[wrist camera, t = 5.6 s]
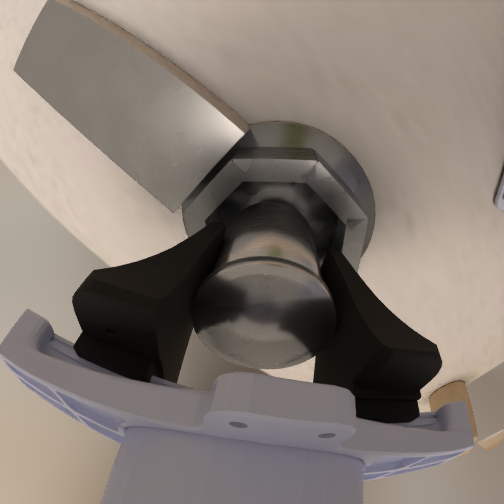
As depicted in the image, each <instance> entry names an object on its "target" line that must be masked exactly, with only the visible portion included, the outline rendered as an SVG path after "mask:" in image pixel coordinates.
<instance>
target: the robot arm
mask: <svg viewBox="0 0 504 504" xmlns="http://www.w3.org/2000/svg"><path fill="white" fill-rule="evenodd" d="M503 193H504V173H503V177H502V180H501V183H500V186H499V190H498V193H497V196H496V198H495V205H496V206H497V207H498V208H499V209H501V210H503V211H504V195H503ZM502 195H503V196H502ZM225 229H226V224H225V223H220V222H216V221H213V222H211V223H209V224H208V225H207V226H205V227H204V228H202V229H201V230H199V231H198V232H197V233H195V234H194V235H192V236H190V237H189V238H187V239H186V240H184V241H183V242H181V243H179V244H177V245H176V246H174V247H172V248H170V249H168V250H166V251H163V252H161V253H159V254H157V255H154V256H151V257H148V258H146V259H143V260H140V261H137V262H133V263H130V264H125V265H121V266H117V267H111V268H104V269H98V270H93V271H92V273H91V274H90V275H89V276H88V277H87V278H86V279H85V281H84V282H83V283H82V284H81V286H80V287H79V288H78V289H77V291H76V292H75V294H74V295H73V299H72V303H73V307H74V311H75V313H76V316H77V319H78V321H79V324H80V326H81V329H82V331H83V332H82V333H81V335H80V336H79V338H78V340H77V341H76V343H75V344H74V343H72V342H70V341H68V340H66V339H64V338H62V337H60V336H58V335H56V334H55V333H54V331H53V328H52V326H51V325H50V323H49V322H48V321H47V320H46V319H45V318H43V317H42V316H40V315H38V314H36V313H34V312H33V311H31V310H29V309H27V310H26V311H25V312H24V313H23V315H22V316H21V317H20V318H19V320H18V321H17V322H16V324H15V325H14V327H13V328H12V329H11V331H10V332H9V333H8V335H7V336H6V338H5V339H4V340H3V342H2V343H1V345H0V358H1V359H2V360H3V361H4V363H5V364H6V365H7V366H8V368H9V369H10V370H11V371H12V372H13V374H14V375H15V376H16V377H17V378H18V379H19V380H20V382H21V383H22V384H23V385H25V386H26V387H27V388H29V389H30V390H32V391H33V392H34V393H36V394H37V395H39V396H40V397H42V398H43V399H44V400H46V401H47V402H49V403H50V404H52V405H53V406H55V407H56V408H58V409H59V410H61V411H63V412H64V413H66V414H67V415H69V416H71V417H72V418H74V419H75V420H77V421H79V422H81V423H82V424H84V425H86V426H88V427H89V428H91V429H93V430H95V431H97V432H98V433H100V434H102V435H104V436H106V437H108V438H110V439H112V440H114V441H116V442H118V443H120V444H121V445H120V448H119V451H118V454H117V456H116V459H115V462H114V465H113V468H112V470H111V473H110V476H109V479H108V482H107V485H106V488H105V491H104V494H103V497H102V500H101V504H363V481H366V480H373V479H379V478H385V477H390V476H395V475H400V474H405V473H409V472H414V471H418V470H422V469H426V468H430V467H434V466H438V465H440V464H442V463H444V462H446V461H448V460H450V459H452V458H454V457H456V456H458V455H460V454H462V453H464V452H466V451H468V450H469V449H471V448H473V447H474V446H475V445H474V438H473V433H472V428H471V423H470V418H469V414H468V410H467V406H466V402H465V401H456V402H449V403H447V404H445V405H443V406H441V407H440V408H439V409H438V410H437V411H435V412H424V413H419V407H418V401H417V400H419V399H420V398H421V393H420V389H422V388H423V387H424V386H425V385H426V384H427V383H428V382H430V381H431V380H432V379H433V378H434V377H435V376H436V375H437V374H438V372H439V370H440V369H441V367H442V360H441V357H440V353H439V350H438V347H437V345H436V344H434V343H433V342H431V341H429V340H428V339H426V338H425V337H423V336H421V335H420V334H418V333H417V332H416V331H414V330H413V329H412V328H410V327H409V326H408V325H406V324H405V323H404V322H403V321H401V320H400V319H399V318H398V317H397V316H396V315H394V314H393V313H392V312H391V311H390V310H389V309H388V308H387V307H386V306H385V305H384V304H383V303H382V302H381V301H380V300H379V299H378V298H377V297H376V296H375V294H374V293H373V292H372V291H371V290H370V288H369V287H368V286H367V285H366V284H365V282H364V281H363V280H362V279H361V277H360V276H359V275H358V273H357V272H356V271H355V269H354V268H353V267H352V265H351V264H350V262H349V261H348V260H347V258H346V257H345V256H344V255H343V253H342V252H341V251H337V250H333V249H329V248H328V251H327V253H326V256H325V258H324V261H323V263H322V265H321V268H320V271H321V276H322V280H323V281H324V282H325V284H326V285H327V287H328V288H329V290H330V292H331V294H332V297H333V301H334V305H335V310H336V318H337V322H336V329H335V332H334V335H333V337H332V339H331V340H330V342H329V343H328V345H327V346H326V347H325V348H324V349H323V350H322V351H321V352H319V353H318V354H317V355H316V358H315V370H314V379H313V383H311V382H304V381H297V380H291V379H284V378H279V377H273V376H267V375H262V374H257V373H248V372H232V373H228V374H223V375H220V376H219V377H218V378H217V379H216V380H215V381H214V382H213V384H212V388H211V392H208V391H202V390H198V389H194V388H190V387H187V386H183V385H180V384H177V380H178V377H179V373H180V369H181V366H182V362H183V359H184V355H185V352H186V349H187V345H188V342H189V339H190V336H191V333H192V330H193V324H192V318H191V311H192V305H193V303H194V300H195V297H196V295H197V292H198V290H199V287H200V286H201V284H202V282H203V281H204V280H205V278H206V277H207V276H208V275H209V274H210V273H212V272H213V269H214V266H215V264H216V261H217V258H218V256H219V253H220V250H221V248H222V245H223V242H224V236H225Z"/></svg>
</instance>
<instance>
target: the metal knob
mask: <svg viewBox="0 0 504 504" xmlns="http://www.w3.org/2000/svg"><path fill="white" fill-rule="evenodd" d="M191 318H192V324H193V327H194V330H195V332H196V334H197V335H198V337H199V339H200V340H201V341H202V342H203V344H204V345H205V346H206V347H208V349H210V350H211V351H212V352H213V353H215V354H216V355H218V356H219V357H221V358H223V359H225V360H227V361H229V362H232V363H234V364H237V365H241V366H245V367H250V368H256V369H279V368H286V367H290V366H294V365H297V364H300V363H303V362H305V361H307V360H309V359H311V358H312V357H314V356H315V355H317V354H318V353H319V352H321V351H322V350H323V349H324V348H325V347H326V346H327V345H328V343H329V342H330V340H331V339H332V337H333V335H334V332H335V329H336V322H337V318H336V310H335V305H334V301H333V297H332V294H331V292H330V290H329V288H328V287H327V285H326V284H325V282H324V281H323V280H322V276H321V271H320V266H319V261H318V256H317V251H316V246H315V242H314V237H313V233H312V230H311V227H310V225H309V223H308V221H307V220H306V219H305V217H304V216H303V215H302V214H301V213H300V212H298V211H297V210H296V209H294V208H292V207H290V206H288V205H286V204H282V203H278V202H261V203H256V204H253V205H251V206H249V207H247V208H245V209H243V210H242V211H241V212H240V213H238V214H237V215H236V217H235V218H234V219H233V221H232V222H231V224H230V226H229V229H228V232H227V234H226V237H225V239H224V242H223V245H222V248H221V250H220V253H219V256H218V258H217V261H216V264H215V266H214V269H213V272H212V273H210V274H209V275H208V276H207V277H206V278H205V280H204V281H203V282H202V284H201V286H200V287H199V290H198V292H197V295H196V297H195V300H194V303H193V305H192V311H191Z"/></svg>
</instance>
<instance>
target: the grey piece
mask: <svg viewBox="0 0 504 504" xmlns="http://www.w3.org/2000/svg"><path fill="white" fill-rule="evenodd" d="M14 71H15V72H16V73H17V74H18V75H19V76H20V77H21V78H22V79H23V80H24V81H25V82H26V83H27V84H28V85H29V86H30V87H32V88H33V89H34V90H35V91H36V92H37V93H38V94H39V95H40V96H41V97H42V98H43V99H44V100H46V101H47V102H48V103H49V104H50V105H51V106H52V107H53V108H54V109H55V110H56V111H57V112H59V113H60V114H61V115H62V116H63V117H64V118H65V119H66V120H67V121H68V122H70V123H71V124H72V125H73V126H74V127H75V128H76V129H77V130H78V131H80V132H81V133H82V134H83V135H84V136H85V137H86V138H87V139H88V140H90V141H91V142H92V143H93V144H94V145H95V146H96V147H98V148H99V149H100V150H101V151H102V152H103V153H104V154H105V155H107V156H108V157H109V158H110V159H111V160H112V161H113V162H115V163H116V164H117V165H118V166H119V167H120V168H121V169H123V170H124V171H125V172H126V173H127V174H128V175H129V176H131V177H132V178H133V179H134V180H135V181H136V182H138V183H139V184H140V185H141V186H142V187H143V188H145V189H146V190H147V191H148V192H149V193H150V194H152V195H153V196H154V197H155V198H156V199H157V200H159V201H160V202H161V203H162V204H163V205H164V206H166V207H167V208H168V209H169V210H170V211H172V212H173V213H174V212H175V211H176V210H177V209H178V208H179V206H180V205H181V204H182V213H183V221H184V226H185V230H186V233H187V235H188V238H189V237H190V236H192V235H194V234H195V233H197V232H198V231H199V230H201V229H202V228H204V227H205V226H207V225H208V224H209V223H211V222H213V221H216V222H220V223H225V224H226V229H225V236H224V239H225V237H226V234H227V232H228V229H229V226H230V224H231V222H232V221H233V219H234V218H235V217H236V215H237V214H238V213H240V212H241V211H242V210H243V209H245V208H247V207H249V206H251V205H253V204H256V203H261V202H278V203H282V204H286V205H288V206H290V207H292V208H294V209H296V210H297V211H298V212H300V213H301V214H302V215H303V216H304V217H305V219H306V220H307V221H308V223H309V225H310V227H311V230H312V233H313V237H314V242H315V246H316V251H317V256H318V261H319V266H320V268H321V265H322V263H323V261H324V258H325V256H326V253H327V251H328V248H329V249H333V250H337V251H341V252H342V253H343V255H344V256H345V257H346V258H347V260H348V261H349V262H350V264H351V265H352V267H353V268H354V269H355V271H356V272H358V267H359V263H360V259H361V257H362V256H363V254H364V252H365V251H366V249H367V247H368V244H369V242H370V240H371V237H372V233H373V229H374V223H375V202H374V197H373V192H372V189H371V186H370V183H369V180H368V178H367V176H366V174H365V173H364V171H363V169H362V167H361V166H360V165H359V163H358V162H357V160H356V159H355V158H354V157H353V155H352V154H351V153H350V152H349V151H348V150H347V149H346V148H345V147H344V146H342V145H341V144H340V143H339V142H337V141H336V140H335V139H333V138H332V137H330V136H328V135H326V134H325V133H323V132H321V131H319V130H316V129H314V128H311V127H308V126H305V125H301V124H297V123H292V122H280V121H274V122H262V123H257V124H252V125H249V124H248V123H247V122H245V121H244V120H243V119H242V118H241V117H240V116H239V115H237V114H236V113H235V112H234V111H233V110H232V109H230V108H229V107H228V106H227V105H226V104H225V103H223V102H222V101H221V100H220V99H219V98H217V97H216V96H215V95H214V94H212V93H211V92H210V91H209V90H208V89H206V88H205V87H204V86H203V85H201V84H200V83H199V82H197V81H196V80H195V79H194V78H192V77H191V76H190V75H188V74H187V73H186V72H184V71H183V70H182V69H180V68H179V67H178V66H176V65H175V64H174V63H172V62H171V61H170V60H168V59H167V58H165V57H164V56H163V55H161V54H160V53H158V52H157V51H155V50H154V49H152V48H151V47H150V46H148V45H147V44H145V43H144V42H142V41H141V40H139V39H137V38H136V37H134V36H133V35H131V34H130V33H128V32H127V31H125V30H123V29H122V28H120V27H118V26H117V25H115V24H113V23H112V22H110V21H108V20H107V19H105V18H103V17H101V16H100V15H98V14H96V13H94V12H93V11H91V10H89V9H87V8H85V7H83V6H81V5H79V4H77V3H75V2H73V1H71V0H48V1H47V2H46V4H45V5H44V7H43V9H42V11H41V12H40V14H39V16H38V18H37V19H36V21H35V23H34V25H33V27H32V29H31V31H30V33H29V35H28V37H27V39H26V41H25V43H24V46H23V48H22V50H21V52H20V55H19V57H18V60H17V62H16V64H15V67H14Z"/></svg>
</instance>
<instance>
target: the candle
mask: <svg viewBox="0 0 504 504" xmlns="http://www.w3.org/2000/svg"><path fill="white" fill-rule="evenodd" d="M456 401H465V402H466V406H467V410H468V414H469V418H470V423H471V428H472V433H473V438H474V444H475V442H476V440H477V438H478V433H477V428H476V424H475V419H474V415H473V411H472V407H471V403H470V399H469V396H468V392H467V388H466V385H465V383H464V382H463V381H456V382H453V383H450V384H447V385H445V386H443V387H441V388H440V389H438V390H437V391H435V392H434V393H433V394H432V395H431V396H430V398H429V402H430V407H431V412H435V411H437V410H438V409H439V408H440V407H441V406H443V405H445V404H447V403H449V402H456ZM471 449H472V448H471ZM471 449H469V450H468V451H466V452H464V453H462V454H460V455H465V454H467V453H468V452H469V451H471ZM458 456H459V455H458ZM456 457H457V456H456Z"/></svg>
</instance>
